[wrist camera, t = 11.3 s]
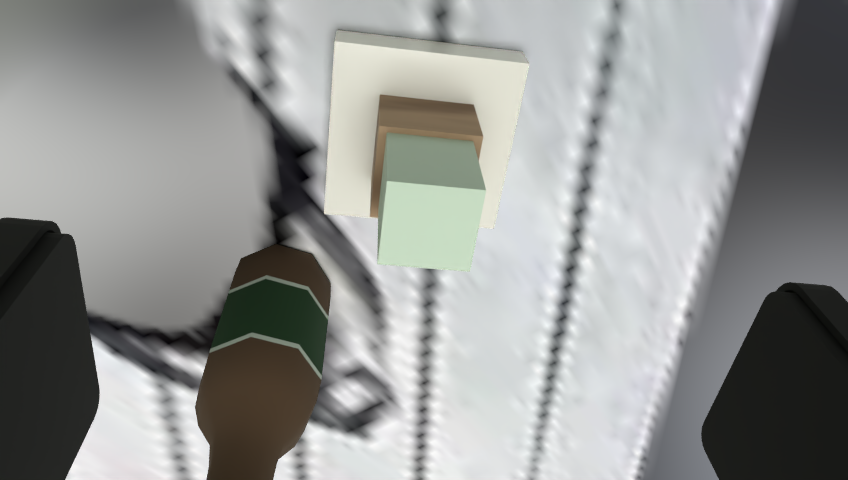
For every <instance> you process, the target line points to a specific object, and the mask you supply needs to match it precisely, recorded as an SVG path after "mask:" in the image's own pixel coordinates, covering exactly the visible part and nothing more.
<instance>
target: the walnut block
mask: <svg viewBox="0 0 848 480" xmlns="http://www.w3.org/2000/svg"><path fill="white" fill-rule="evenodd" d="M387 132H388V133H398V134H408V135H418V136H428V137H437V138H447V139H457V140H467V141H473V142H474V146H475V150H476V154H477V157H478V161H479V157H480V152H481V146H482V141H483V133H482V130H481V127H480V124H479V120H478V117H477V114H476V110H475V107H474V105H473V104H464V103H454V102H445V101H436V100H427V99H417V98H408V97H399V96H390V95H380V97H379V107H378V117H377V127H376V137H375V147H374V157H373V167H372V176H371V199H370V217H375V218H378V207H379V198H380V189H381V180H382V171H383V162H384V153H385V144H386V135H387Z"/></svg>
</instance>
